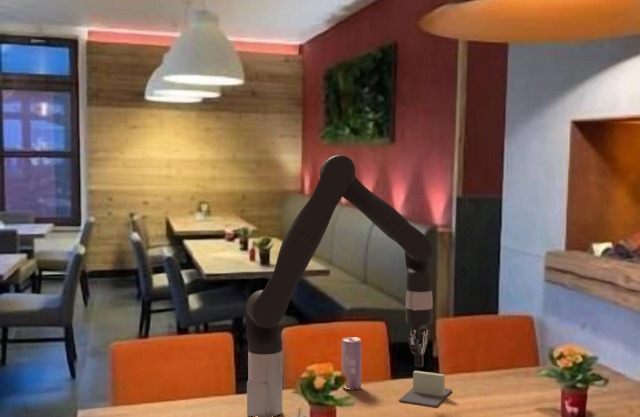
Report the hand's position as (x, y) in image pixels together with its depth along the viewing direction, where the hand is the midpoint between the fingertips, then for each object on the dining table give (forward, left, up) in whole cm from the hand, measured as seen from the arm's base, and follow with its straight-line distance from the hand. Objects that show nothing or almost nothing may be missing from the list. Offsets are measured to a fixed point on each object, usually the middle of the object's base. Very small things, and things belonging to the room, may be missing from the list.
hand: (418, 366), depth 189 cm
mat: (+7, 0, -10) cm, 13 cm away
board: (+8, 0, -10) cm, 13 cm away
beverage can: (+5, +23, -11) cm, 26 cm away
